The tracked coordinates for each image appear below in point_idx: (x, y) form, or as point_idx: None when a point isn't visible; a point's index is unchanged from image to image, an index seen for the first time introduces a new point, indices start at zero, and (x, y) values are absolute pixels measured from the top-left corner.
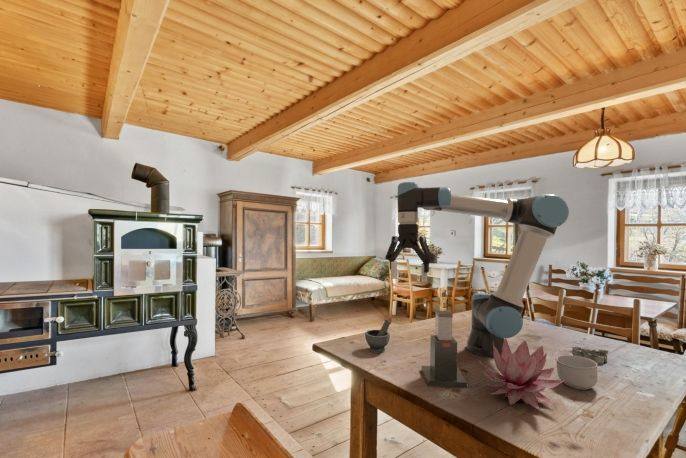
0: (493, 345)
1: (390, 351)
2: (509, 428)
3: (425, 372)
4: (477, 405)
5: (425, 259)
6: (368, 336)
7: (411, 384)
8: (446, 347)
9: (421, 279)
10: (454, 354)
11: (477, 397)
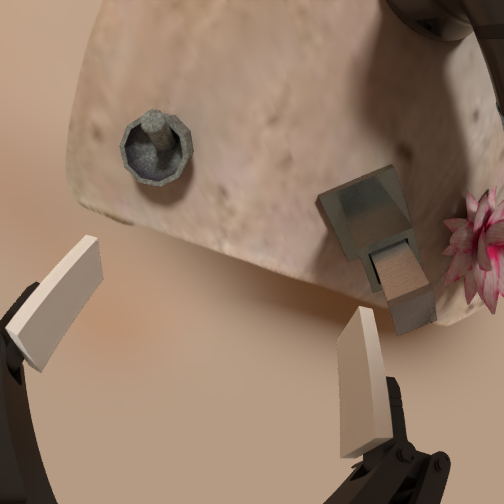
0: (487, 269)
1: (203, 125)
2: (442, 304)
3: (336, 229)
4: None
5: (378, 479)
6: (146, 182)
7: (317, 264)
8: None
9: (337, 353)
10: None
11: (422, 254)
